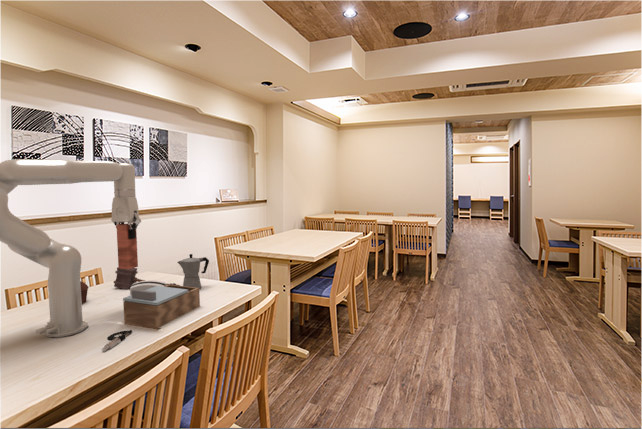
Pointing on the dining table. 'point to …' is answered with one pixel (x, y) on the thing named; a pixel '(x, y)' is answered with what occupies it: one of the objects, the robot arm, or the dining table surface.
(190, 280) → the coffeepot
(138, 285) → the white curved piece
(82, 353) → the dining table surface
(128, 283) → the hammer
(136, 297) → the lid
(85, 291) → the muffin
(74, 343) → the dining table surface
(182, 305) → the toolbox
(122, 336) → the micrometer
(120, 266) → the peg
